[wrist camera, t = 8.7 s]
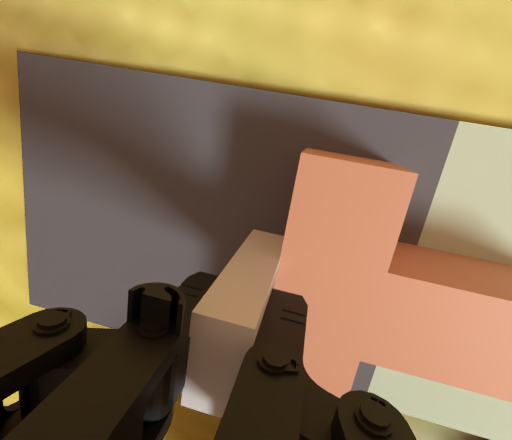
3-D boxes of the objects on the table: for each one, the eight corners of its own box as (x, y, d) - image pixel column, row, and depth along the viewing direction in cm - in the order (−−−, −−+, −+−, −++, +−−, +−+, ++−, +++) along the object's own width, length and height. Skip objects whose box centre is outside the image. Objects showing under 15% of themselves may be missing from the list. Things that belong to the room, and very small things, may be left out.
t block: (267, 341, 16) (250, 402, 13) (307, 147, 14) (300, 152, 10) (483, 400, 15) (537, 491, 11) (580, 196, 12) (698, 224, 8)
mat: (41, 297, 20) (29, 303, 19) (31, 55, 16) (17, 51, 15) (614, 463, 15) (630, 480, 14) (810, 178, 11) (845, 182, 10)
